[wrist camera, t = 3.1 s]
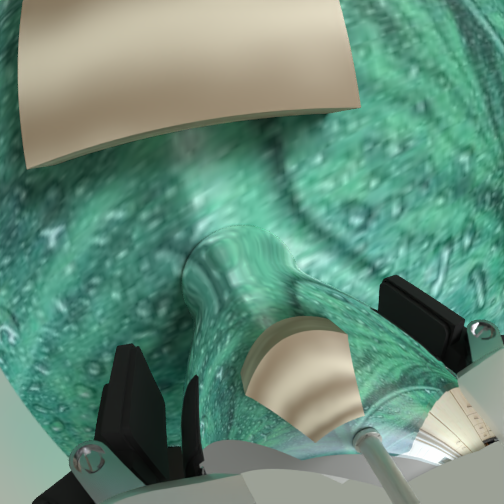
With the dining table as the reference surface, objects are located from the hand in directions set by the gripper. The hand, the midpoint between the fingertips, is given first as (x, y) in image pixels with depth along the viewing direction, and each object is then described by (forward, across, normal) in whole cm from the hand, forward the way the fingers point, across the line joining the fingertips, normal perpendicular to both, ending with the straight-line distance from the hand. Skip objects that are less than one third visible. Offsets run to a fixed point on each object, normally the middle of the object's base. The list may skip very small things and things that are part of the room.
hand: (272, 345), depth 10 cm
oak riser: (+6, +1, -16) cm, 17 cm away
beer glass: (+6, 0, 0) cm, 6 cm away
